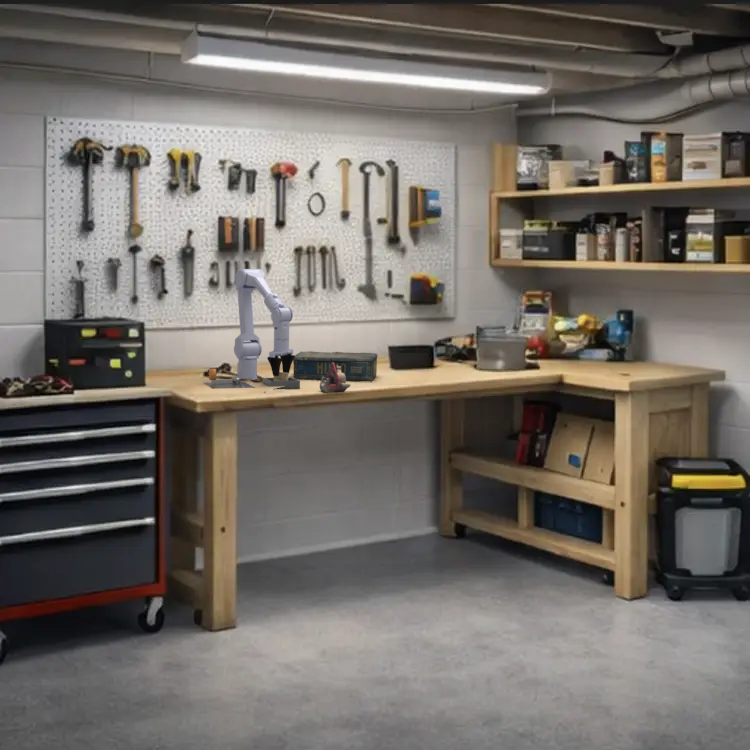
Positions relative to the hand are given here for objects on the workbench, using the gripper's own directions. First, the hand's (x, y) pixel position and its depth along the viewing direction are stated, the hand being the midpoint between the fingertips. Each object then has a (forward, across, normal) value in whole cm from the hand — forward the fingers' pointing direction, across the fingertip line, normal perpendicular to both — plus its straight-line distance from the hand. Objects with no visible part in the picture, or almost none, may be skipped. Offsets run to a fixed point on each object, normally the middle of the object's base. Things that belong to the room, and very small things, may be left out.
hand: (281, 374), depth 448 cm
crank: (+3, -10, +19) cm, 21 cm away
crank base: (+5, -14, +15) cm, 21 cm away
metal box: (+5, +39, -3) cm, 39 cm away
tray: (+5, 0, 0) cm, 5 cm away
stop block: (+4, 0, 0) cm, 4 cm away
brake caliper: (+5, 0, -22) cm, 23 cm away
